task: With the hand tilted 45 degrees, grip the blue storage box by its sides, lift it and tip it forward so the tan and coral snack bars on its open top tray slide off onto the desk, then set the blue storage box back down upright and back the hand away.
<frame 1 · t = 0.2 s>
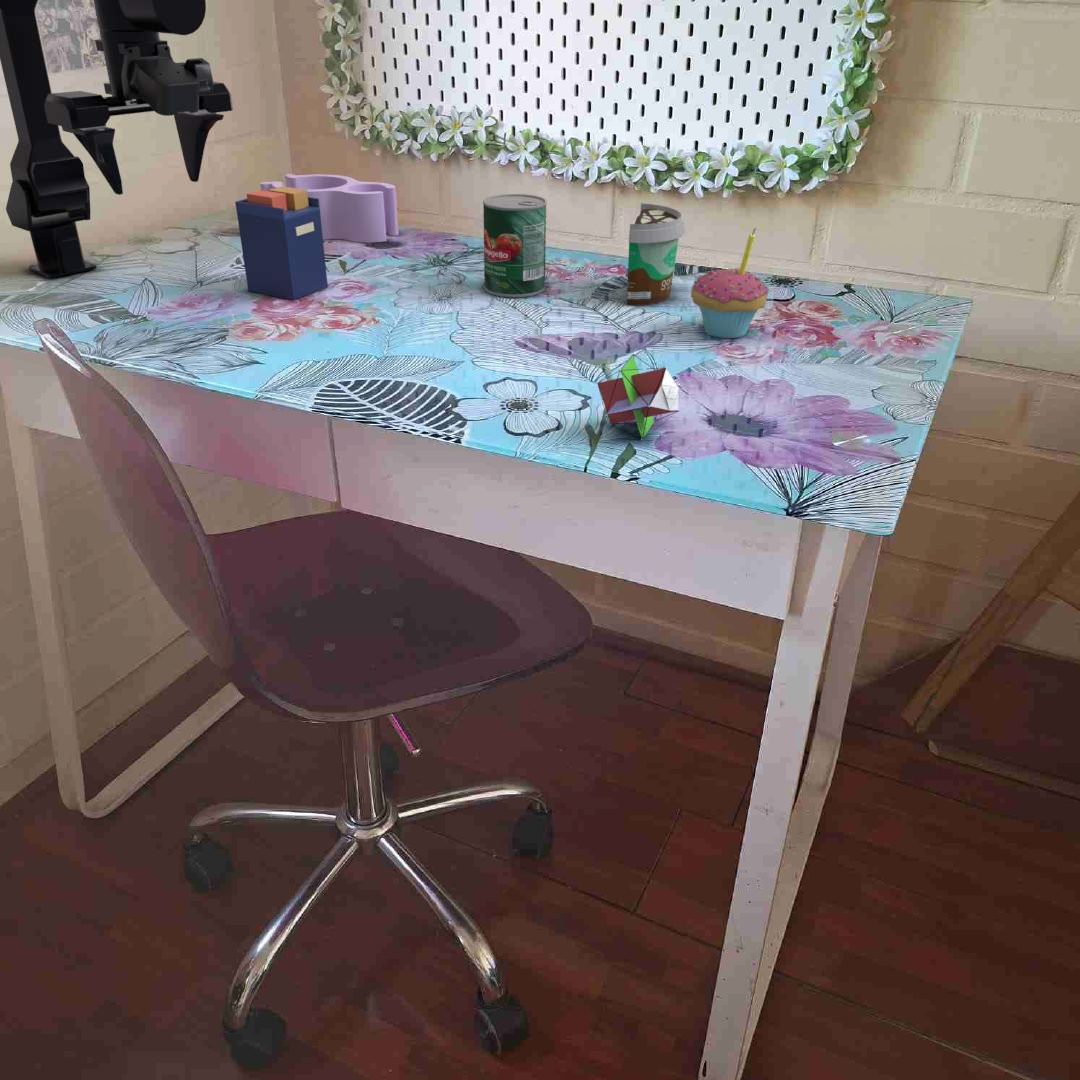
hand: (157, 187, 109), 15 cm above the table, tool pointing down, fingers open, 9 cm apart
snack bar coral: (268, 210, 120), point 10 cm above the table, touching blue storage box
cupcake: (724, 333, 114), on the table
snack bar tan: (289, 206, 122), point 10 cm above the table, touching blue storage box
geometric puzzle: (635, 431, 91), on the table
food container: (654, 296, 126), on the table
canned tomato: (514, 290, 127), on the table
blue storage box: (288, 288, 126), on the table, touching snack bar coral, snack bar tan
clip: (334, 232, 152), on the table
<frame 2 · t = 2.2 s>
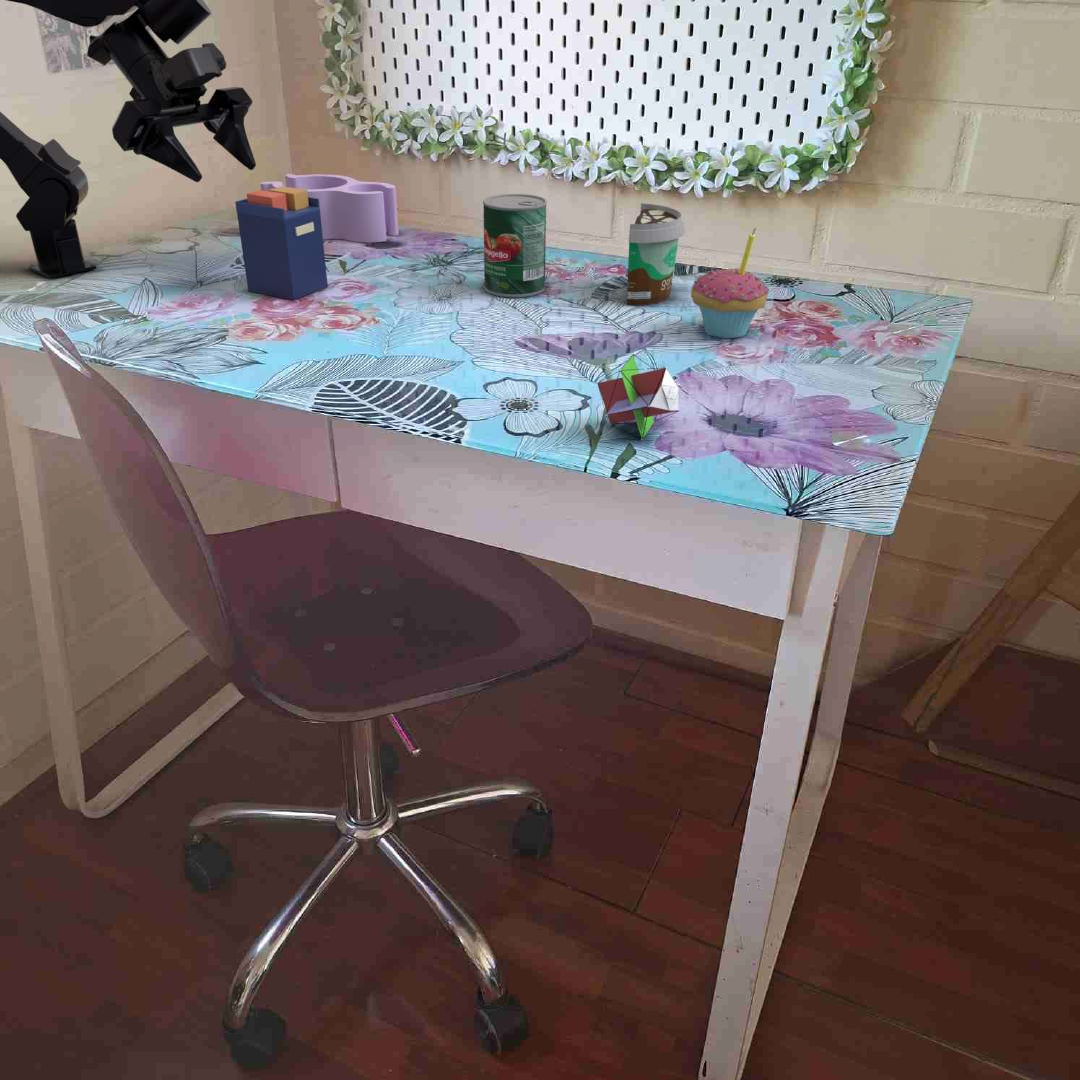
hand: (227, 173, 122), 13 cm above the table, tool tilted 45°, fingers open, 9 cm apart
nothing on the table moved.
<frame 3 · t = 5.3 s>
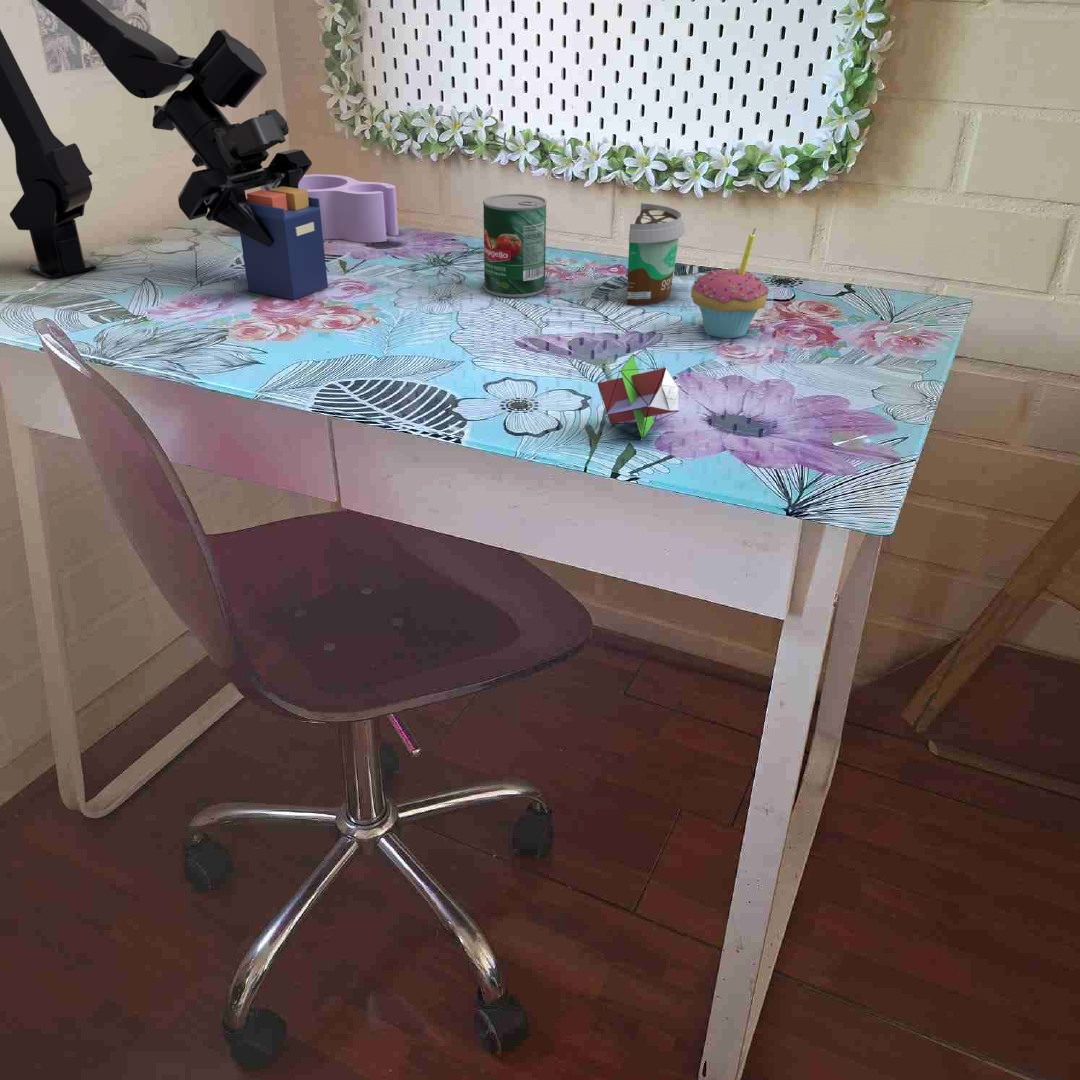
hand: (290, 238, 122), 7 cm above the table, tool tilted 45°, fingers closed on blue storage box, 6 cm apart
blue storage box: (288, 288, 126), on the table, touching gripper, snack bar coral, snack bar tan
everything else where it was.
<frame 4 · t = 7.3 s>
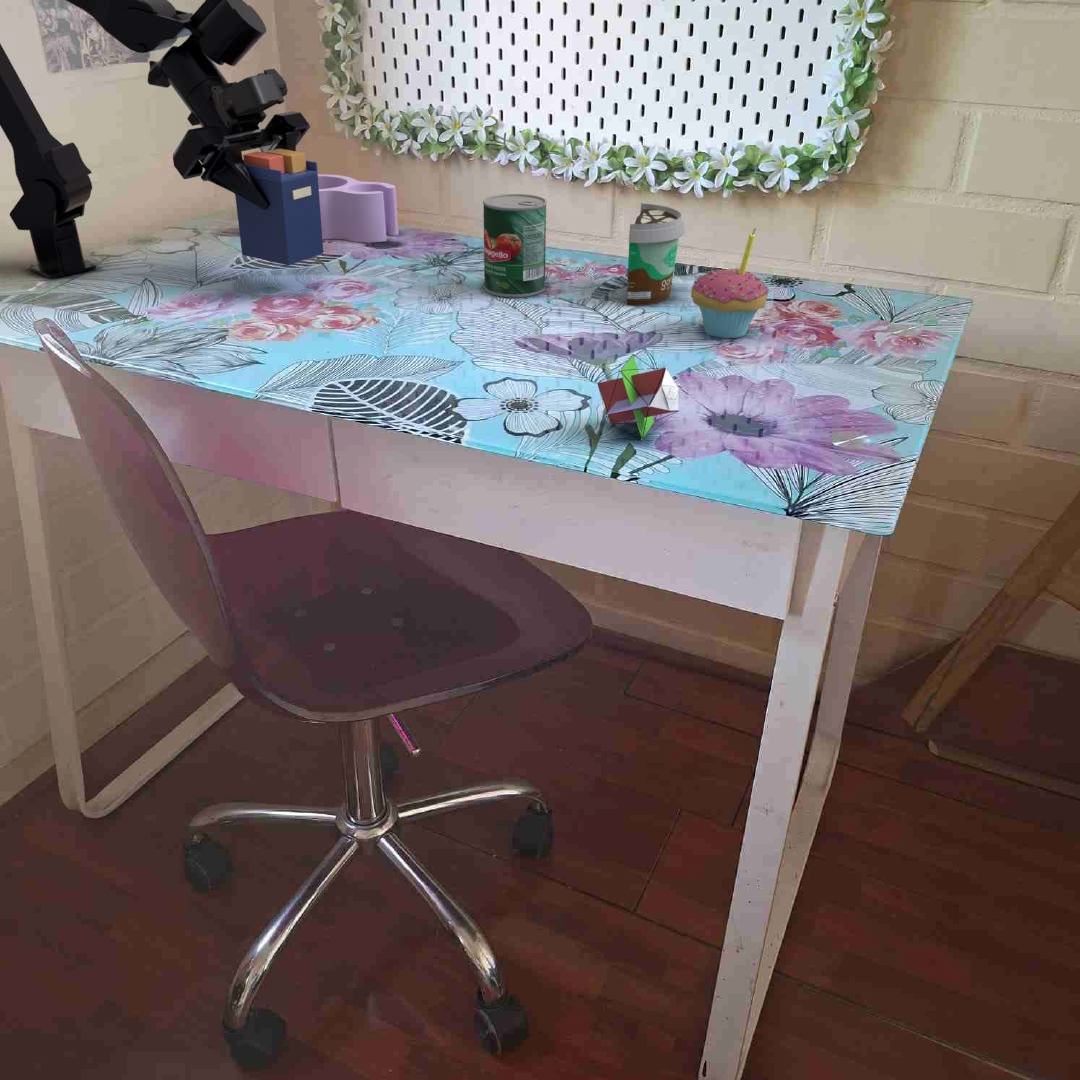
hand: (286, 201, 120), 11 cm above the table, tool tilted 45°, fingers closed on blue storage box, 6 cm apart
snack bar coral: (264, 172, 118), point 14 cm above the table, touching blue storage box
snack bar tan: (286, 169, 120), point 14 cm above the table, touching blue storage box
blue storage box: (283, 254, 124), point 4 cm above the table, touching gripper, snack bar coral, snack bar tan
everything else where it was.
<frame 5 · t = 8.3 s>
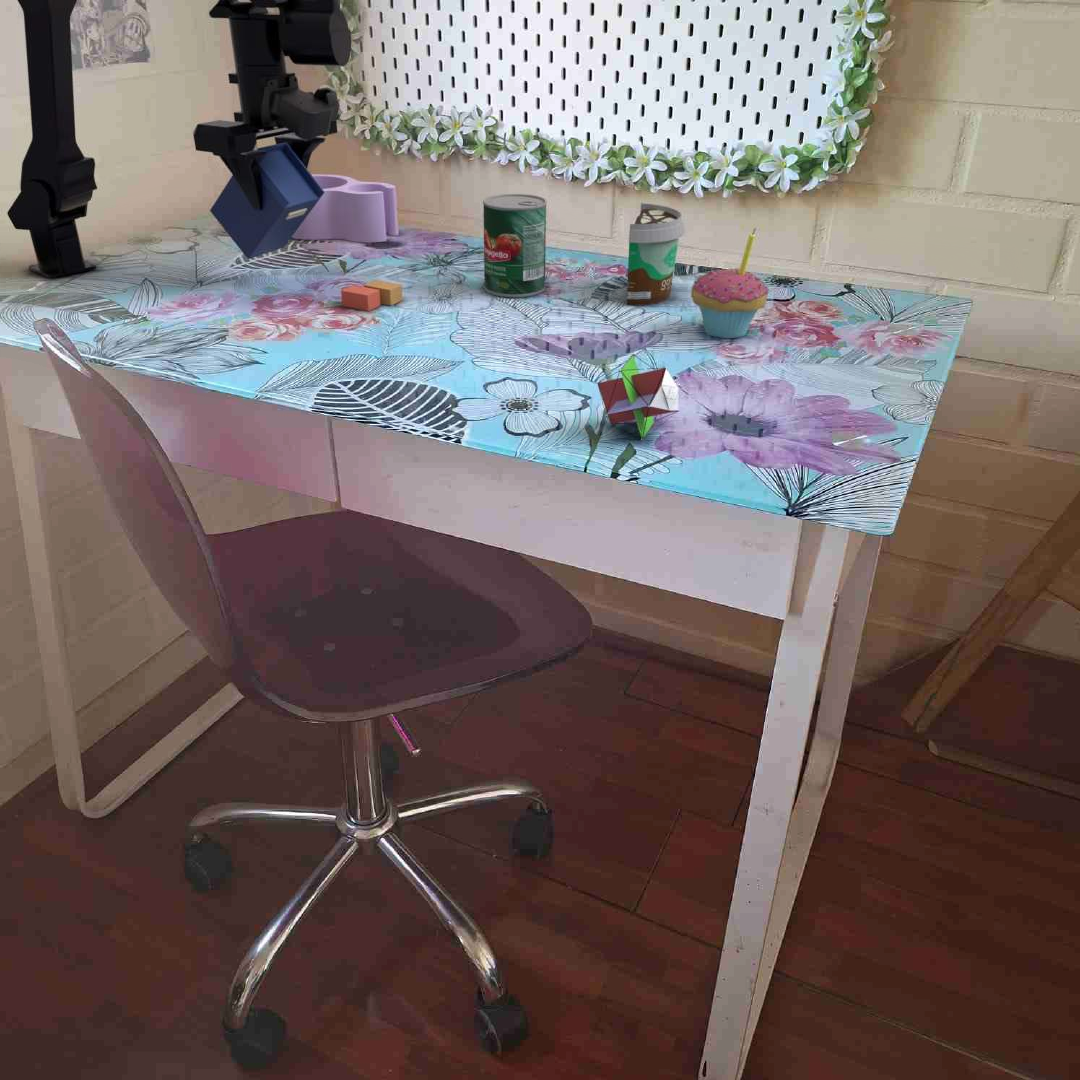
hand: (277, 204, 121), 10 cm above the table, tool pointing down, fingers closed on blue storage box, 6 cm apart
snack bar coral: (360, 289, 120), point 2 cm above the table, tilted 180°
snack bar tan: (382, 284, 121), point 2 cm above the table, tilted 180°
blue storage box: (247, 229, 125), point 7 cm above the table, tilted 45°, touching gripper
everything else where it was.
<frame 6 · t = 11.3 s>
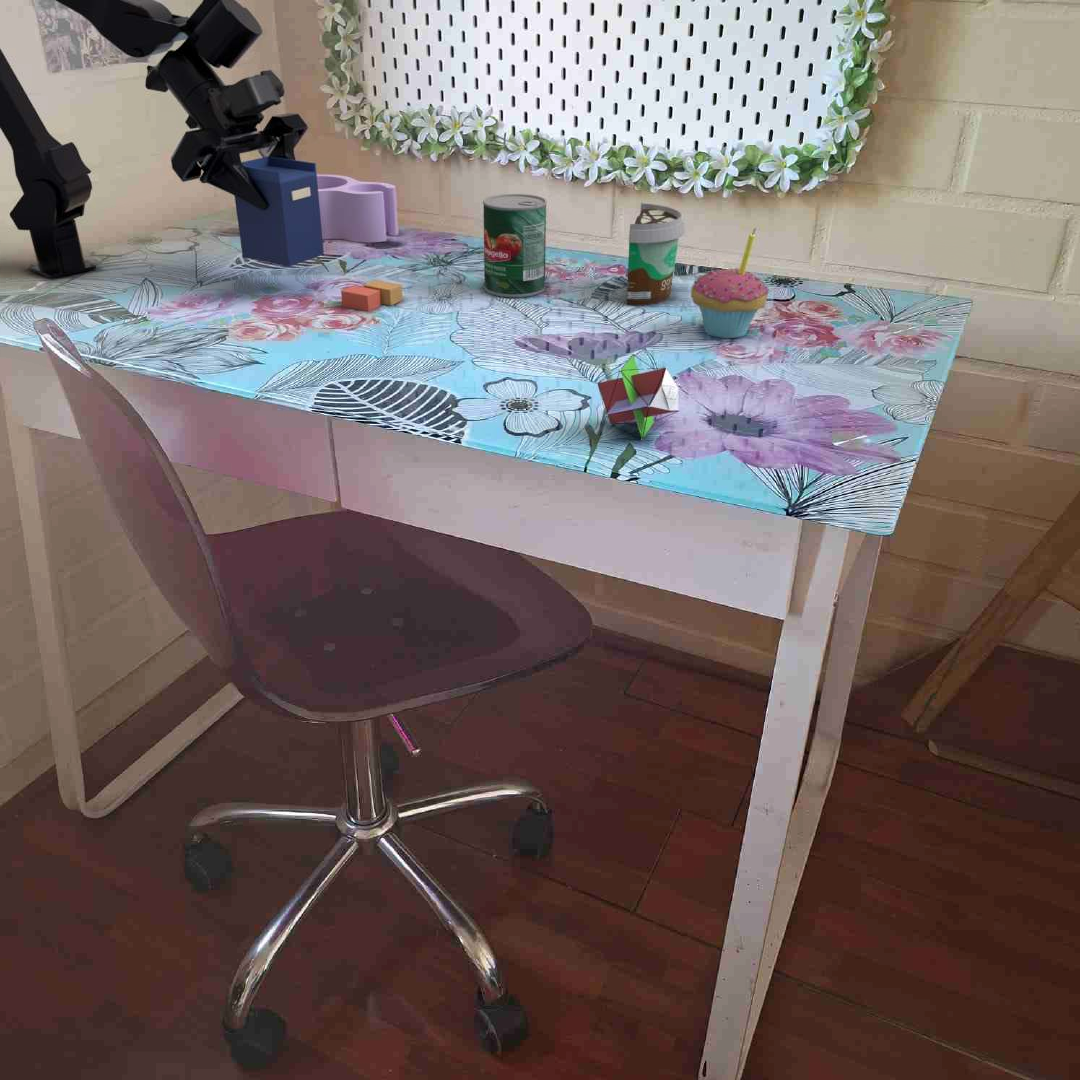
hand: (285, 202, 120), 11 cm above the table, tool tilted 45°, fingers closed on blue storage box, 6 cm apart
blue storage box: (283, 255, 124), point 4 cm above the table, touching gripper
everything else where it was.
when the fingers open (7 cm above the table, at t = 13.3 s): blue storage box stays where it is, on the table.
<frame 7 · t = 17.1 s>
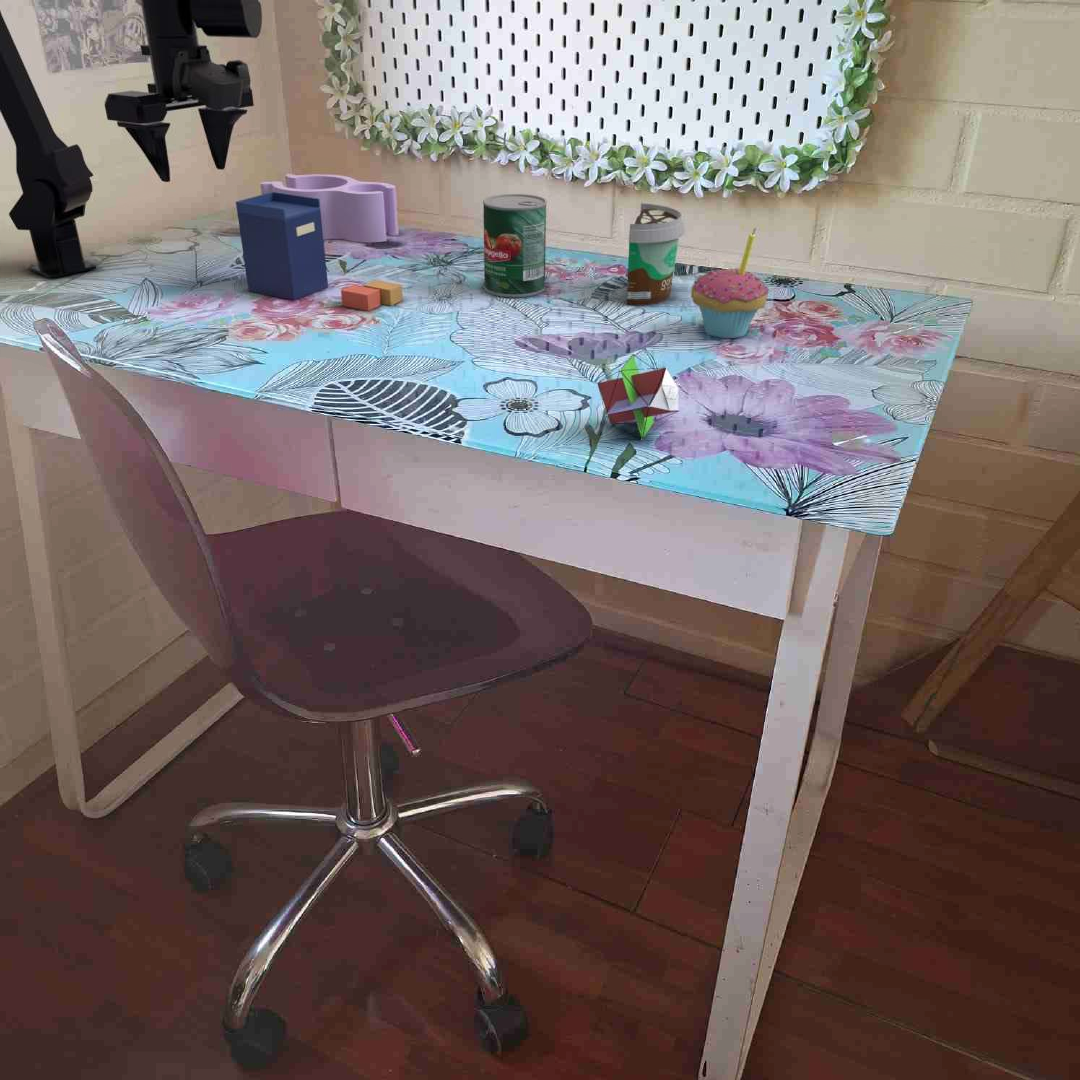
hand: (194, 175, 124), 13 cm above the table, tool pointing down, fingers open, 9 cm apart
blue storage box: (288, 289, 126), on the table
everything else where it was.
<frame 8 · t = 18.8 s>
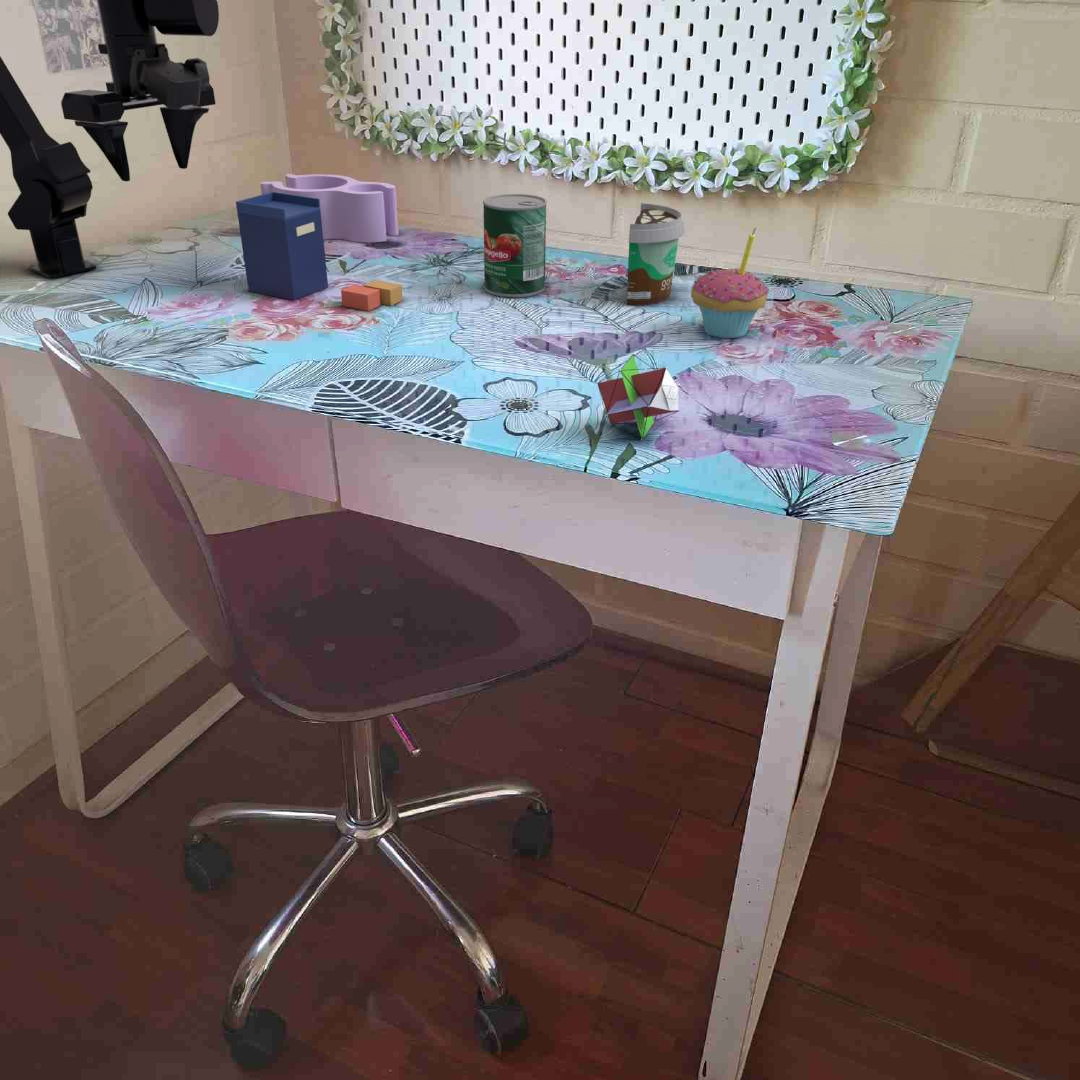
hand: (155, 174, 123), 13 cm above the table, tool pointing down, fingers open, 9 cm apart
nothing on the table moved.
at the end: snack bar tan touching table; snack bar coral touching table; blue storage box tilted 0° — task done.
